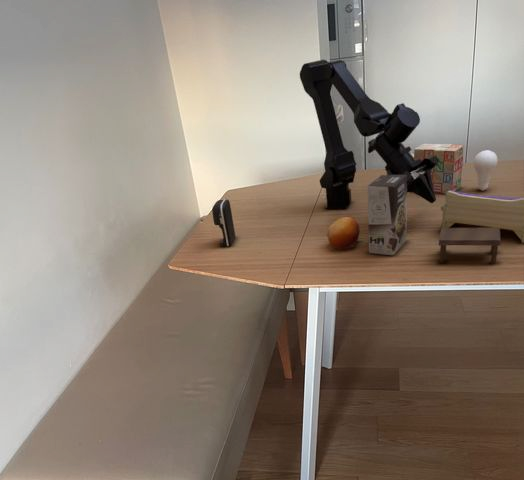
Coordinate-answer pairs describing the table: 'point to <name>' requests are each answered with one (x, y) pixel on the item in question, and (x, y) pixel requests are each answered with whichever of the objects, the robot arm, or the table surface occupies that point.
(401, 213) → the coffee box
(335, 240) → the fruit
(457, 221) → the toy sofa
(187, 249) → the table surface
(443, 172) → the stack of blocks
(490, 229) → the coffee table
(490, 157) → the lightbulb
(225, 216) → the battery charger
